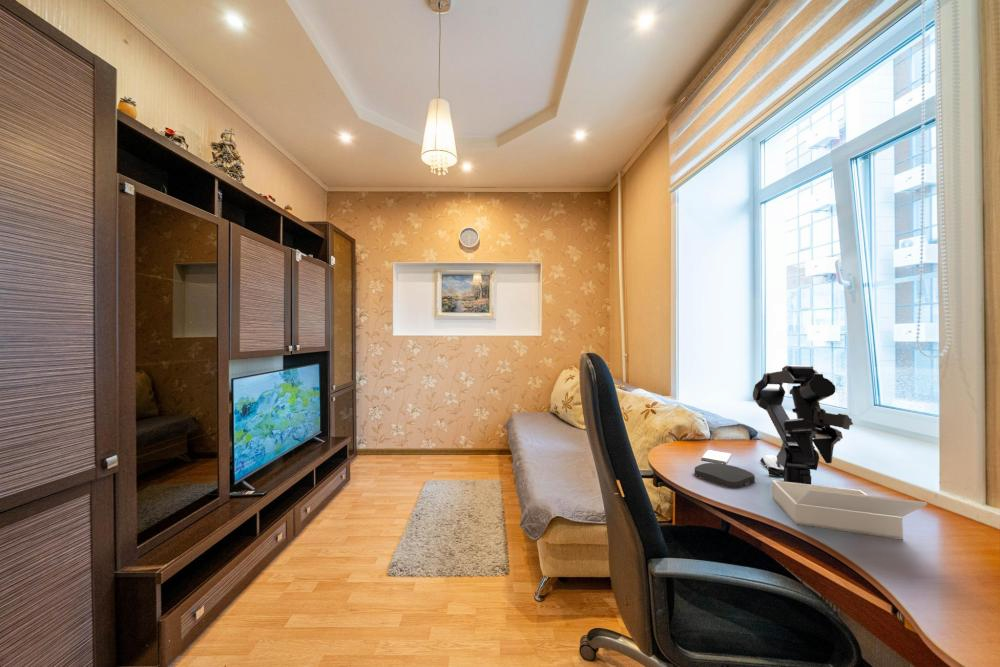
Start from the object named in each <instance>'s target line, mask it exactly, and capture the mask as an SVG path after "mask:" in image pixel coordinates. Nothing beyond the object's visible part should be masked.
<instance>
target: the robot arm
mask: <svg viewBox="0 0 1000 667" xmlns="http://www.w3.org/2000/svg"><path fill="white" fill-rule="evenodd" d="M783 384H790V385H791V384H792V385H793V386H792V388H791V389H790V390H789V395H791V396H792V402H793V406H794V408H792V410H791V411H792V412H793V413H795V414H796V418H793V419H790V418H789V416H788V414H787V412H786V411H785V409H784V407H783V405H782V404H783V401H784V397H785V394H786V390H785V389H784V387H783ZM768 385H778V386H779V387H778V388H772V387H771V388H770V387H769V388H768ZM766 387H767V388H766ZM835 393H836V386H835V384H834V383H833V382H832V381H831V380H830V379H828V378H826V377H824V375H823V373H819V372H818V371H817V369H815V368H814V367H813V365H807V364H806V365H805V364H804V365H800V364H797V365H796V364H795V365H793V364H787V365H785V366H784V367H782V368H781V370H780V371H775V372H774V371H773V372H766V373H763V375H762V378H761V379H760V380H759V381H758V382H757V383H755V385H754V388H753V391H752V398H753V401H755V402H756V404H757V406H758V407H759V408H761V409H763V410H764V411H766V413H767V415H768V416H769V418H770V420H771V421H772V422H771V423H772V424H773V426H774V428H775V429H776V432H777V434H778V435H779V438H780V439H781V441H782V443H781V447H780V450H779V451H778V453H777V455H776V457H777V462H778V464H780V465H781V466H783V467H784V477H783V480H782V481H783V482H792V483H801V484H810V485H812V475H811V470H813V471H817V470H818V466H819V461H820V456H821V457H822V459H823V461H824V462H825V464H832V463H833V462H832V461H833V456H834V455H833V453H834V447H835V445H836V444H837V443H839V442H841V440H842V439H844V437H843V434H842V431H840V430H839V429H837V427H838V428H842V429H844V430H848V431H849V430H850V426H853V425H854V423H853V422H852V418H850V417H849V415H848V414H845V413H844V414H842V413H837V414H835V413H829V412H826V410H825V409H824V408H821V406H820V401H823V400H824V399H827V398H829V397H831V396H833V395H834V394H835ZM831 426H833V427H831ZM835 427H836V428H835ZM815 448H817V450H816V449H815Z"/></svg>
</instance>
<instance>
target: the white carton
mask: <svg viewBox="0 0 1000 667" xmlns="http://www.w3.org/2000/svg"><path fill="white" fill-rule="evenodd" d="M783 481H784V480H773V479H772V480H771V492H772V493H771V494H772V495H771V496H772V497H773V498H772V497H771V498H772V499H773V500H774V501H775V502H776V503H777V504H778V506H779V507H780V508H781V509H782V510H783V511H784V513H785V514H786V515H787V516H788V517H789V518H790V520H792V522H793V523H794V524H795V525H798V524H799V525H798V526H805V527H806V526H807V527H812V526H814V528H819V527H821V529H826V528H827V530H833V531H841V532H846V531H847V532H846V533H855V534H861V535H867V534H868V535H870V536H874V535H876V537H881V536H883V537H882V538H888V537H890V538H889V539H896V540H904V531H903V530H904V529H903V528H904V527H903V517H897V516H889V515H882V514H874V513H866V512H858V511H850V510H843V509H835V508H827V507H819V506H811V505H804V504H797V503H796V502H797V501H798V500H799V499H800V498H801V497H802V496H803V495H804V494H805V493H806V492H807V491H808V490H809V489H816V490H824V491H833V492H842V493H851V494H859V495H868V496H870V495H869V494H867V493H866V492H864V491H863V490H861V489H854V488H846V487H845V488H844V487H836V486H835V487H834V486H827V485H818V484H811V485H810V484H801V483H792V482H783Z"/></svg>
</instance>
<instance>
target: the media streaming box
mask: <svg viewBox="0 0 1000 667" xmlns="http://www.w3.org/2000/svg"><path fill="white" fill-rule="evenodd" d="M696 475H697V476H698V477H697V476H696ZM694 476H696V477H697V478H699V477H701V478H700V479H702V478H703V479H702V480H705V479H706V480H705V481H708V480H709V481H708V482H710V481H711V483H713V482H714V484H716V483H717V484H716V485H719V484H720V485H719V486H722V485H723V486H722V487H725V486H727V487H726V488H731V487H732V488H731V489H740V488H743V487H746V485H747V486H749V485H751V483H752V484H755V477H756V476H755V474H754V473H752V472H751V471H749V470H747V469H745V468H741V467H738V466H734V465H729V464H727V465H726V464H720V463H715V462H706V463H701V464H699V465H697V466H695V467H694ZM739 487H740V488H739Z"/></svg>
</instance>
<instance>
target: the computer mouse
mask: <svg viewBox="0 0 1000 667" xmlns="http://www.w3.org/2000/svg"><path fill="white" fill-rule="evenodd" d="M760 462H761V463H762V464H761V463H760ZM759 463H760V464H761V465H763V464H764V465H766V466H767V467H766V466H765V467H766V469H767V471H768V476H770V475H772V477H783V478H784V467H783V466H781V465H780V464H778V462H777V455H772V454H768V455H767V454H766V455H763V456H762V457H761V459H760V460H759ZM764 465H763V466H764Z"/></svg>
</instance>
